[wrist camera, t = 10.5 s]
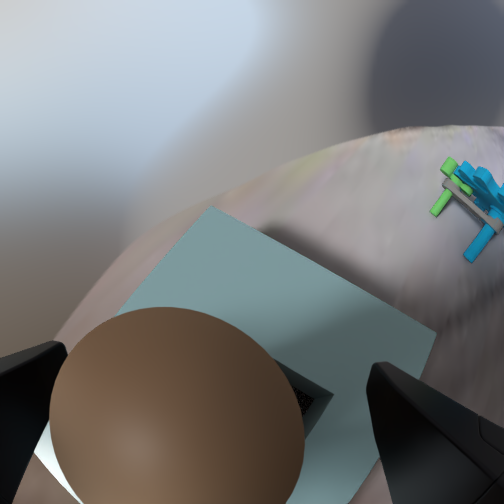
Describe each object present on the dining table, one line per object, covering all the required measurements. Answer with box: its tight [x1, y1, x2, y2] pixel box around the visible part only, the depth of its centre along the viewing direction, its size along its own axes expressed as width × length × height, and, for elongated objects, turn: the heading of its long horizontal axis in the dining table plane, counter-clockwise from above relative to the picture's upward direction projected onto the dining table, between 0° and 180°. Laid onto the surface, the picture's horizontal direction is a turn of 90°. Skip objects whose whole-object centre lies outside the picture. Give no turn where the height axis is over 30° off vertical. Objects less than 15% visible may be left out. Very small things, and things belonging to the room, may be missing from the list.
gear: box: [430, 157, 504, 263], centre depth 18 cm, size 11×6×10 cm
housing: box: [34, 206, 437, 504], centre depth 12 cm, size 16×13×4 cm
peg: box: [49, 307, 305, 504], centre depth 9 cm, size 4×4×12 cm
